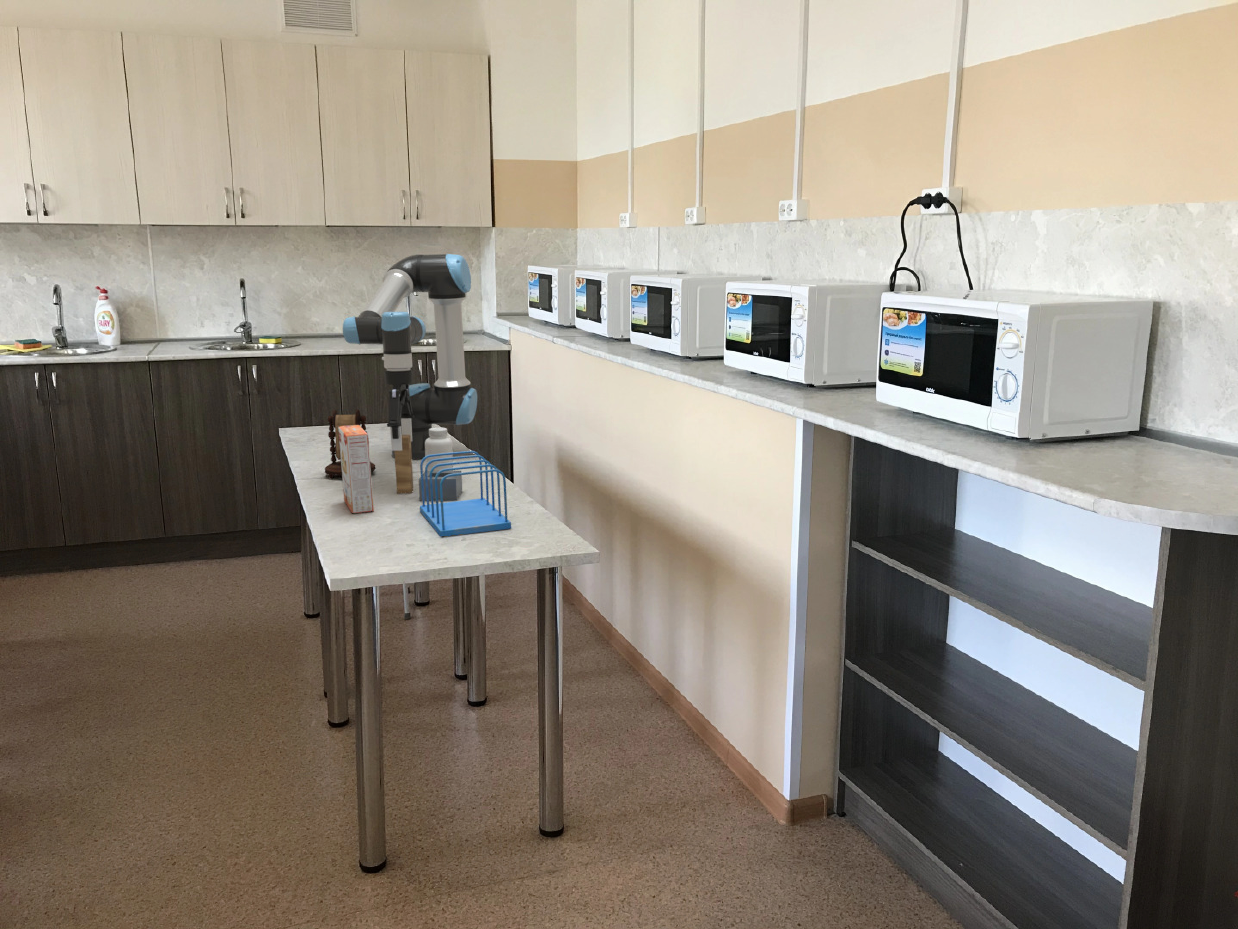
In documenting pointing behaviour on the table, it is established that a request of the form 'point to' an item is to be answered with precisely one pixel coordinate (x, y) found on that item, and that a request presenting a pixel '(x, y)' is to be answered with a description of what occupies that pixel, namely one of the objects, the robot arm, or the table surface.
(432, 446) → the pill bottle
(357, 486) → the cracker box
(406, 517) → the table surface
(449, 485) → the grey square sleeve
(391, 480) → the table surface
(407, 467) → the long wooden beam
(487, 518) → the file sorter
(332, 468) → the scroll
